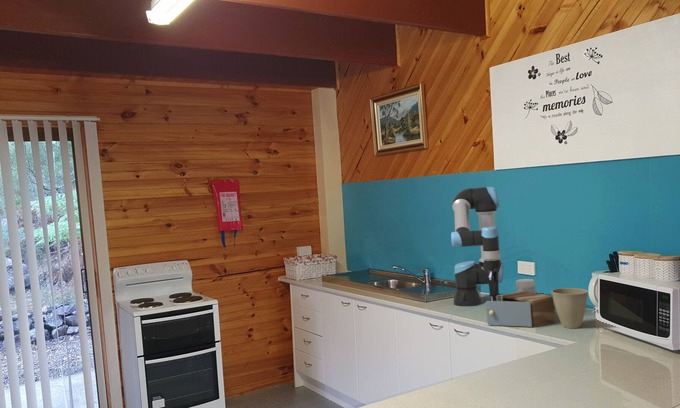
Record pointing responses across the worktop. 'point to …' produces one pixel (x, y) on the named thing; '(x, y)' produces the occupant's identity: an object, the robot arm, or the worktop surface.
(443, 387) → the worktop surface
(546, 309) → the cabinet
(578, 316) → the plant pot
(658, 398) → the worktop surface
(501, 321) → the cabinet door
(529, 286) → the supplement tub
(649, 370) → the worktop surface
